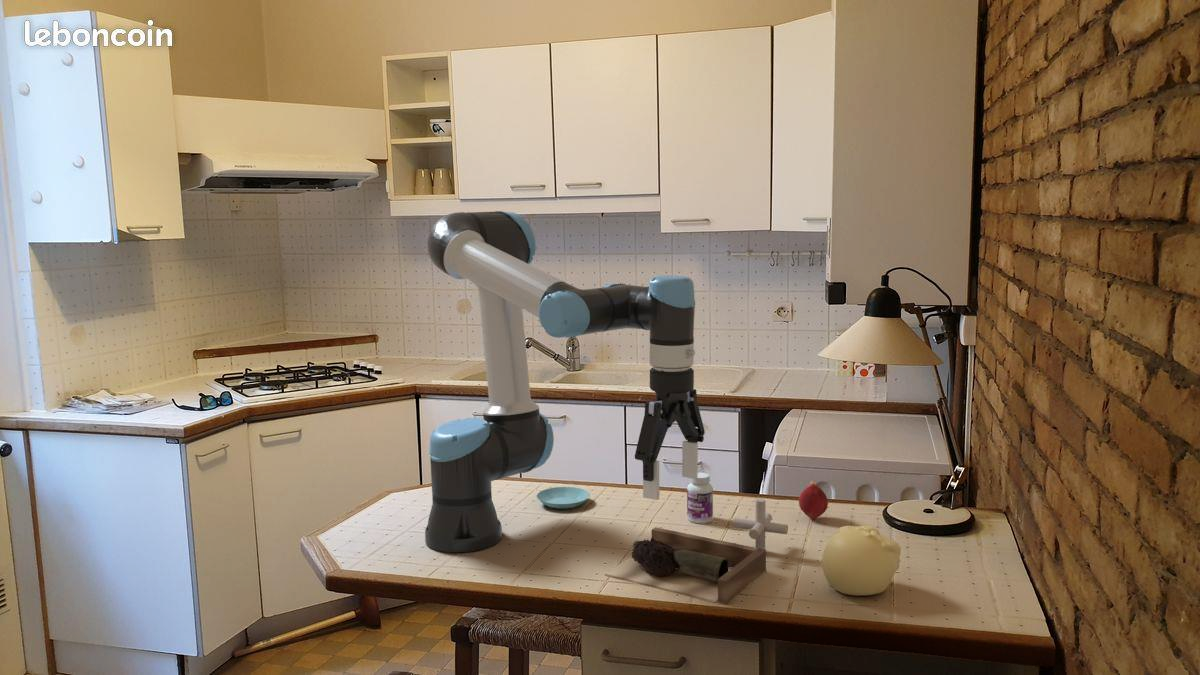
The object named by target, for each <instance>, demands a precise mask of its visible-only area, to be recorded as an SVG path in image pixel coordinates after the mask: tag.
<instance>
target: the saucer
mask: <svg viewBox="0 0 1200 675" xmlns="http://www.w3.org/2000/svg"><path fill="white" fill-rule="evenodd" d="M590 496H591V494H590V492H589V491H587V490H586V489H583V488H581V487H580V488H579V487H573V486H559V487H557V486H556V487H550V488H546V489H543V490H541V491H539V492H538V493H537V494H536V496H535V497H536V499H537V500H538V501H540V502H541V503H542V504H543V505H545V506H546V507H549V508H551V509H554V508H556V510H569V509H568V508H570V509H573V508H576V507H579V506H580V505H582V504H584V503H585V502H586V501H587V500H588V499H589V498H590Z"/></svg>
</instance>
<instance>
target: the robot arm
mask: <svg viewBox="0 0 1200 675" xmlns="http://www.w3.org/2000/svg"><path fill="white" fill-rule="evenodd" d="M426 242H427V243H426V245H427V246H426V248H427V253H428V256H429V258H430V260H431V262H432V263H433V264H434V265H435V267H436V268H437V269H439V271H441V272H443V273H445V274H447V275H448V276H450V277H452V278H454V279H457V280H469V282H472V284H473V285H475V286H476V287H477V290H478V299H479V300H478V301H479V308H480V310H479V311H480V320H481V322H480V323H481V330H482V342H483V350H484V360H485V361H484V362H485V369H486V370H485V371H486V381H487V383H486V384H487V391H488V405H487V406H486V408H484V410H482V415H483V419H482V418H480V417H478V418H477V417H467V418H464V419H460V418H459V419H455V420H451V421H448V422H444V423H442V424H441V425H439V426H437V427H435V429H434V430H433V431H432V433H431V435H430V437H429V451H428V455H429V457H430V460H429V461H430V476H431V479H430V480H431V496H432V497H431V498H432V499H431V500H432V505H431V508H430V513H429V516H428V521H427V522H428V523H427V525H426V527H425V530H424V537H425V538H424V540H425V546H427V547H429V548H430V549H432V550H434V551H435V550H436V551H438V552H444V553H445V552H446V553H467V552H474V551H480V550H484V549H487V548H489V547H492V546H495V545H496V544H497V543H499V542H500V541H501V540H502V538H503V528H502V527H503V526H502V522H501V521H500V520H499V519H498V514H497V511H496V507H495V504H494V502H493V497H492V496H493V495H492V494H493V492H492V482H493V481H497V480H501V479H504V478H508V477H511V476H516V475H518V474H526V473H528V472H530V471H531V472H532V470H534V469H538V468H540V467H542V466H543V465H544V464H545V463H546V462H547V460H549V458H550V456H551V455H552V452H553V450H554V449H553V448H554V440H555V439H554V431H553V426H552V425H551V423H549V419H548V418H547V416H545V415H544V414H542V413H541V412H540V407H539V405H538V404H537V403H536V402H534V400H532V398H531V397H532V396H531V387H530V378H529V377H530V376H529V367H528V366H529V364H528V355H527V346H526V344H527V342H526V334H525V323H524V313H523V310H524V311H527V312H528V313H530V314H532V315H534V316H535V317H537V318H538V319H539V322H540V325H541V327H542V328H543V329H544V331H545V333H546V334H547V335H549V336H550V337H551V338H569V339H570V338H576V337H579V336H583V335H589V334H591V335H592V334H595V333H596V334H597V333H604V332H611V331H617V330H622V329H636V330H643V331H649V363H648V364H649V365H650V366H651V368H650V369H649V388H650V390H651V391H652V392H654V393H655V394H656V397H655V400H654V401H651V400H650V401H648V400H647V401H645V404H644V416H643V418H642V424H641V428H640V432H639V436H638V440H637V444H636V445H637V446H636V449H635V454H634V459H635V460H638V461H641V462H642V498H645V499H649V500H653V501H654V500H655V501H659V500H660V460H657V459H658V456H659V454H660V451H661V448H662V445H663V443H664V440H665V437H666V435H667V432H668V430H669V428H671V427H672V426H673V424H674V423H675V422H676V424H677V426H678V428H679V429H680V431H681V434H682V435H683V438H684V440H682V447H681V448H682V449H681V450H682V458H681V459H682V460H681V462H682V463H681V469H682V471H681V475H682V476H681V477H683V478H688V479H690V478H692V479H697V474H698V473H699V472H698V470H699V469H698V468H699V466H698V465H699V464H698V460H699V459H698V458H699V457H698V455H699V452H698V451H699V443H703V442H704V440H705V438H704V437H705V427H704V423H703V419H702V416H701V413H700V412H701V411H700V408H699V403H698V398H697V396H698V395H697V389H695V388H694V387H695V380H694V379H695V372H694V371H695V370H694V369H693V368H692V366H694V362H695V361H694V360H695V359H694V356H695V354H696V350H695V347H694V345H695V344H694V342H695V337H694V331H695V330H694V328H695V309H696V308H695V306H696V300H695V286H694V285H695V284H694V281H693V280H692V279H691V278H690V277H689V276H681V275H662V276H661V275H660V276H659V275H658V276H653V277H652V278H650V280H649V286H642V285H630V284H626V283H608V284H604V285H603V286H601V287H597V288H596V287H595V288H588V289H587V288H586V289H585V288H584V289H581V288H579V287H575V286H574V285H572V284H570V283H567V282H565V281H564V280H561V279H560V278H557V277H555V276H553V275H551V274H549V273H547V272H545V271H543V270H542V269H539V268H538V267H535V266H534V265H531V263H532V262H533V260H534V257H533V256H535V254H536V249H537V244H536V236H535V234H534V231H533V229H532V227H531V225H530V223H529V222H528V221H527V220H526V219H525V218H524V217H523V216H521V215H520V214H518V213H516V212H513V211H512V212H511V211H510V212H509V211H503V210H499V211H498V210H496V211H478V212H475V211H474V212H473V211H472V212H469V211H468V212H463V211H462V212H461V211H460V212H459V211H458V212H453V213H448V214H446V215H445V216H442V217H440V218H439V219H438V220H437V221H436V222H435V223H434V224H433V226H432V228H431V229H430V231H429V233H428V236H427V240H426Z"/></svg>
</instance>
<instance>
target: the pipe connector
mask: <svg viewBox="0 0 1200 675" xmlns="http://www.w3.org/2000/svg"><path fill="white" fill-rule="evenodd" d="M772 519H773V516H772V514H771V513H769V512H766V499H764V498H756V499H755V519H746V518H739V517H738V518H737V517H734V518H733V522H732V523H733V528H735V529H743V530H749V532H748V535H749V537H750V538H751V539H753V540H755V548H759V549H764V550H766V533H773V534H780V535H781V534H782V535H788V531H789V525H788V524H787V523H786V524H785V523H777V522H771V521H772Z"/></svg>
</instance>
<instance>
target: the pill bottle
mask: <svg viewBox="0 0 1200 675" xmlns="http://www.w3.org/2000/svg"><path fill="white" fill-rule="evenodd" d="M689 479H690V480H689V481H690V483H689V484H688V485H687V487H686V503H687V504H686V518H687V520H688V521H690V522H691V523H694V524H706V523H707V524H708V523H710V522H711V521H713V517H714V516H713V514H714V511H713V510H714V488H713V486H712V484H710V481H711V476H710V474H708V473H706V472H698V474H697V479H692V478H689Z"/></svg>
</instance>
